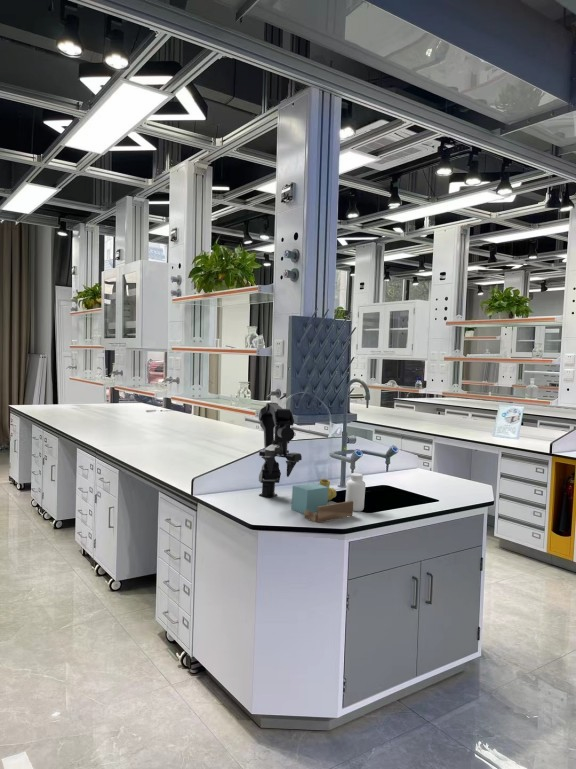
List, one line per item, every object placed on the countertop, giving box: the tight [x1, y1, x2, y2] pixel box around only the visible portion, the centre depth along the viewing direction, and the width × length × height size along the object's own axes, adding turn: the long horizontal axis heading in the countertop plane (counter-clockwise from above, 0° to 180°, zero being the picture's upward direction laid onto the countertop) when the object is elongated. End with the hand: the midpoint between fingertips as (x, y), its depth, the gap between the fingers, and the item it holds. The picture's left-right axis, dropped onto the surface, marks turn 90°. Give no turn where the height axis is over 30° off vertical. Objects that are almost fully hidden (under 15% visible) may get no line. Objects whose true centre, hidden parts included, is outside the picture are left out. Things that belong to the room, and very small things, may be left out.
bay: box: [303, 501, 354, 524], centre depth 227 cm, size 8×20×6 cm, turn 131°
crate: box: [290, 482, 329, 515], centre depth 236 cm, size 9×12×10 cm
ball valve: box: [318, 478, 337, 501], centre depth 254 cm, size 13×10×10 cm
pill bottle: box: [344, 472, 366, 512], centre depth 242 cm, size 8×8×15 cm
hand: (279, 475), depth 240 cm, fingers open, 9 cm apart
